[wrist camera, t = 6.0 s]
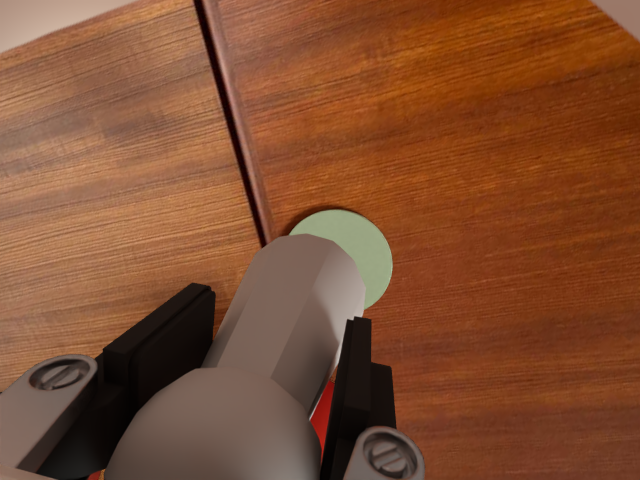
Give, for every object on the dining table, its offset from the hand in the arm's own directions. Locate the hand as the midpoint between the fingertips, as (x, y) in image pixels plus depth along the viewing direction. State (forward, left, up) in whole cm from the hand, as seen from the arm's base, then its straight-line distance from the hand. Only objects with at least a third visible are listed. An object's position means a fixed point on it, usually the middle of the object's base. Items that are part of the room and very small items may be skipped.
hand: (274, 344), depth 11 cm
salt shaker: (0, -1, -8) cm, 8 cm away
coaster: (+4, -3, -23) cm, 24 cm away
